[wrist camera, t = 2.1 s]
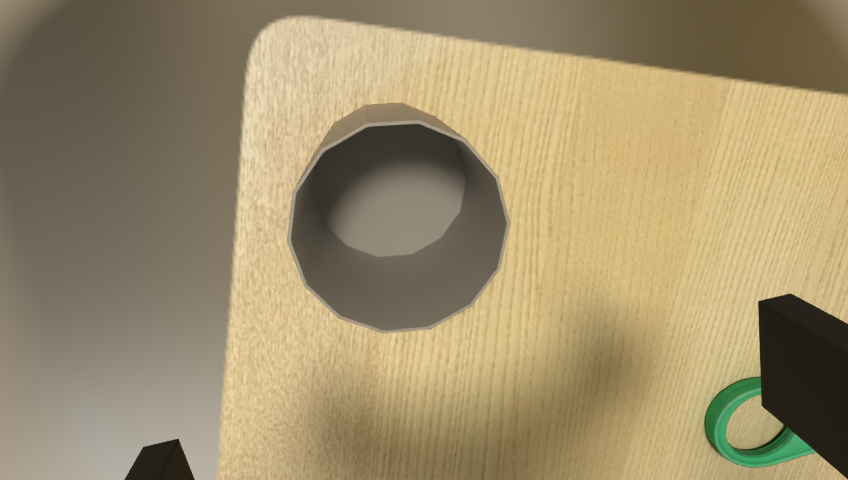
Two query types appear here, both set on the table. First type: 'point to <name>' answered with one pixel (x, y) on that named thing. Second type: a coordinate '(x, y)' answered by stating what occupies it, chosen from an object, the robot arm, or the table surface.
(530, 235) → the table surface
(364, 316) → the cup
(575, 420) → the table surface
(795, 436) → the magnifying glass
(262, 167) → the table surface
